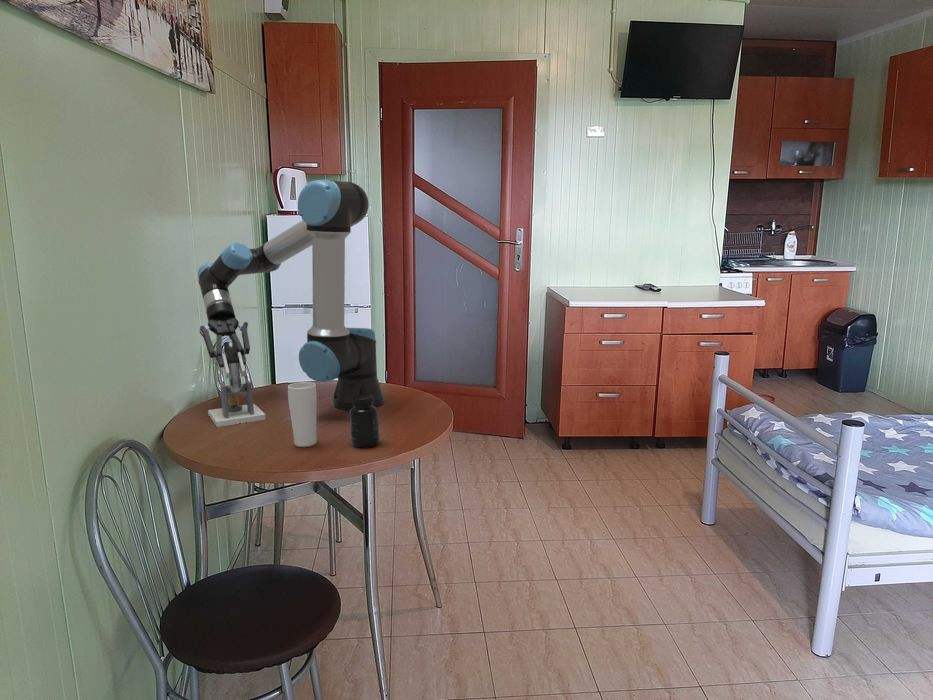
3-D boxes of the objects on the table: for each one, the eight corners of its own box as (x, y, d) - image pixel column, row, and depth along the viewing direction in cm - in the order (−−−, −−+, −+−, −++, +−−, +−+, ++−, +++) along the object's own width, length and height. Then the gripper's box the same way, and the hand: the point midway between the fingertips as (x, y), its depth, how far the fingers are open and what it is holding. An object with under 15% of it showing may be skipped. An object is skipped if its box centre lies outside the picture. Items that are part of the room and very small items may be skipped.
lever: (222, 395, 194) (215, 346, 195) (241, 392, 197) (234, 344, 198) (227, 393, 186) (221, 342, 187) (247, 390, 188) (240, 340, 189)
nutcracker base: (208, 415, 196) (205, 379, 194) (254, 408, 202) (251, 373, 200) (217, 427, 184) (213, 389, 182) (265, 419, 190) (262, 383, 188)
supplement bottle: (370, 438, 172) (368, 391, 169) (384, 444, 166) (382, 396, 164) (346, 443, 167) (343, 396, 165) (360, 450, 162) (357, 401, 160)
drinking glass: (324, 445, 167) (320, 385, 164) (297, 450, 163) (293, 389, 160) (313, 438, 172) (309, 380, 170) (287, 443, 169) (283, 384, 166)
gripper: (247, 314, 205) (264, 378, 194) (188, 319, 197) (203, 386, 186) (249, 298, 200) (267, 363, 188) (189, 302, 192) (204, 370, 181)
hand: (235, 374), depth 187 cm, fingers closed on lever, 3 cm apart
